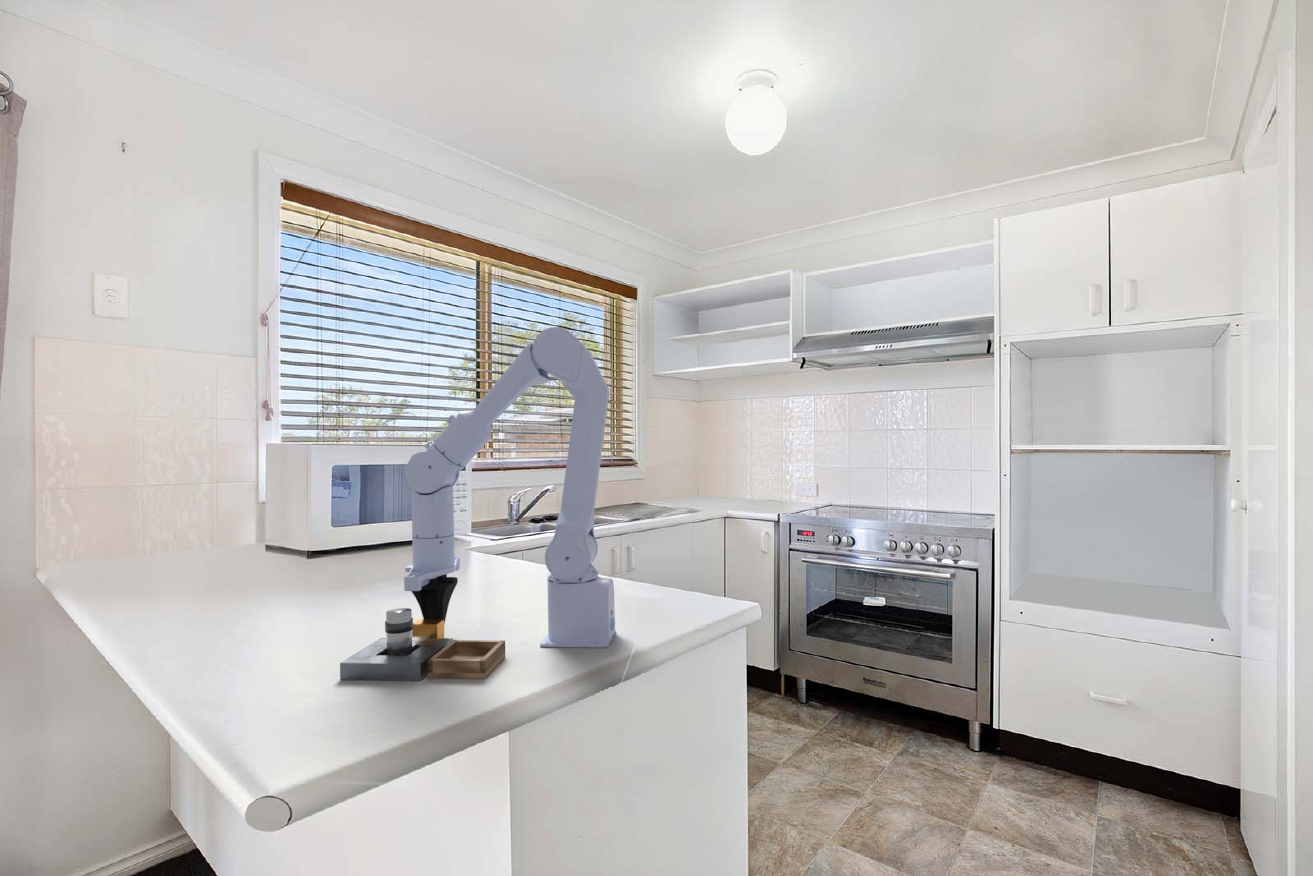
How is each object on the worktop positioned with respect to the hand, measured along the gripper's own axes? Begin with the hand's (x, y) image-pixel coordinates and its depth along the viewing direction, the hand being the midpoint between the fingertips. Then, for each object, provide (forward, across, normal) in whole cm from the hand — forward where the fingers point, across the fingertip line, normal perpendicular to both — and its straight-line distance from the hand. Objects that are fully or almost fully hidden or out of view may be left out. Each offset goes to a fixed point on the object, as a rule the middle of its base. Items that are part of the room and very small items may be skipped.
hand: (434, 630), depth 95 cm
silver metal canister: (+1, +11, 0) cm, 11 cm away
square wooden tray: (+1, +11, +9) cm, 14 cm away
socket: (+1, +11, 0) cm, 11 cm away
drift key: (+1, +5, 0) cm, 5 cm away
